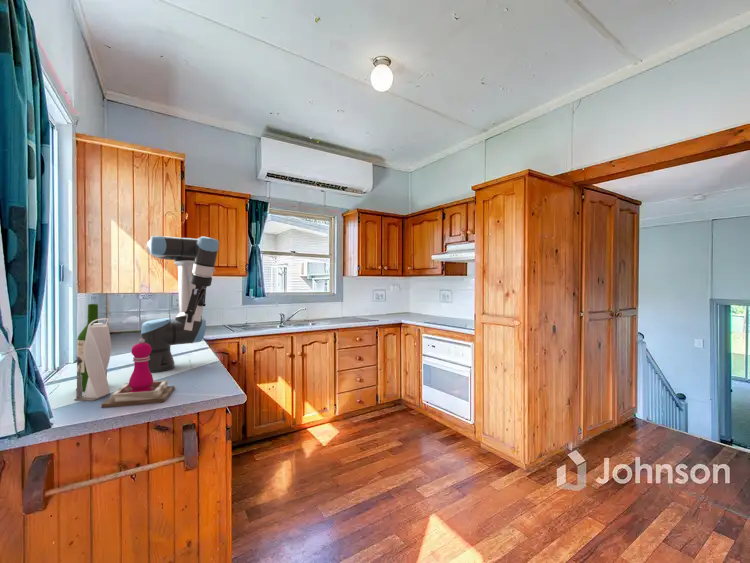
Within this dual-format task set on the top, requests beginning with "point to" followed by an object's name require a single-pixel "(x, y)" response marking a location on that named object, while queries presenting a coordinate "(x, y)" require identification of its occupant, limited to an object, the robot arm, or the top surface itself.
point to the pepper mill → (141, 368)
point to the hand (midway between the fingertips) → (192, 325)
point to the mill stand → (139, 395)
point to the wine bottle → (81, 342)
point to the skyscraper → (95, 362)
